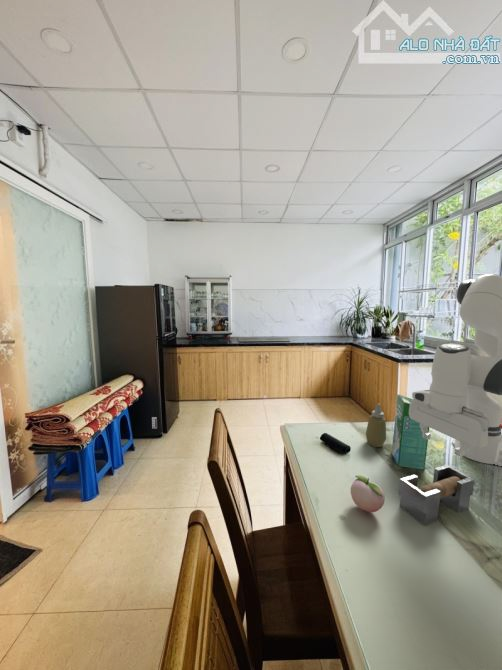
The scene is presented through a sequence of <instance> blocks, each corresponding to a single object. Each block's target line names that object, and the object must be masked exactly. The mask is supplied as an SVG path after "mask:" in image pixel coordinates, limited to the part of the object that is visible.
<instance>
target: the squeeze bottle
mask: <svg viewBox="0 0 502 670" xmlns="http://www.w3.org/2000/svg"><path fill="white" fill-rule="evenodd" d="M365 436H366V440H367V443H368V445H370V446H371V447H375V448H381V447H383V446H384V444H385V442H386V440H387V419H386V418H385V413H384V412H383V411H382V408H381V403H377V404H376V406H375V410H372V411H371V414H370V415H369V416H368V422H367V426H366V432H365Z"/></svg>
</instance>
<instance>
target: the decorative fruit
mask: <svg viewBox="0 0 502 670" xmlns="http://www.w3.org/2000/svg"><path fill="white" fill-rule="evenodd" d="M354 477H355V480H354V481H353V482H352V484H351V485H350V495H351V499H352V501H353V503H354V504H355V505H356V507H358V508H359V509H361V510H362V511H365V512H368V513H375V512H378V511H380V510H381V509H382V508H383V506H384V505H385V501H386V500H385V499H386V498H385V494H384V491H383V489H382V488H381V486H379V484H377V483H375V482H371V481H370V478H369V477H368V478H367V477H366V476H363V475H359V474H358V475H355V476H354Z"/></svg>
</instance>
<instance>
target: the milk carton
mask: <svg viewBox="0 0 502 670" xmlns="http://www.w3.org/2000/svg"><path fill="white" fill-rule="evenodd" d="M396 395H397V396H396V403H395V404H396V406H395V414H394V425H393V434H392V435H393V436H392V445H391V454H392V455H391V456H393V459H394V461H395V463H396V464H397V466H398V467H404V468H409V469H410V468H411V469H418V470H423V471H424V470H426V468H425V467H426V460H427V451H428V442H429V440H426V439H424V438H422V434H423V433H422V431H421V428H420V423H419V422H417V421H414V420H412V419H411V418H410V416H409V407H410V402H411V400H412V399H413V398H410V397H408V396H404V395H401V394H396ZM427 429H428V432H429V433H430V427H427Z"/></svg>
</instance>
